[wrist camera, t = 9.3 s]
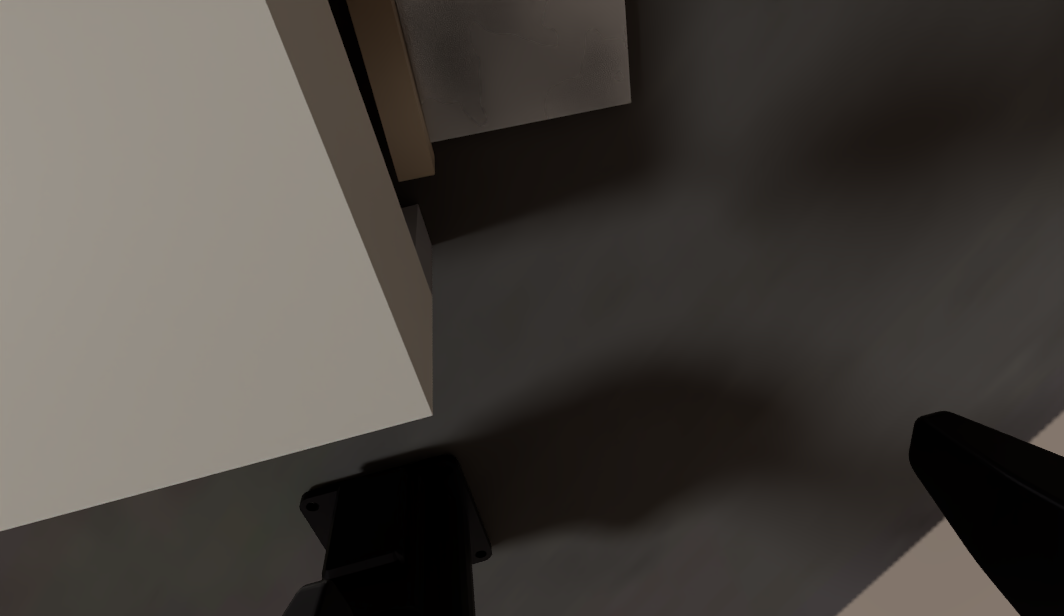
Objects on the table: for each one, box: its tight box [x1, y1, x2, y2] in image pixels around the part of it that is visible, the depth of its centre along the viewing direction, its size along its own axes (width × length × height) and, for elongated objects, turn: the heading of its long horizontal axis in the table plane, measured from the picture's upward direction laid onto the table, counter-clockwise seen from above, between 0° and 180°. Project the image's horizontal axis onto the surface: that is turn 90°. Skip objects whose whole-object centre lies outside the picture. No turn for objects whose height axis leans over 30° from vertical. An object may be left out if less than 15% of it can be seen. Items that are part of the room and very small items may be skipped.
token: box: [395, 0, 631, 142], centre depth 16 cm, size 6×6×1 cm
